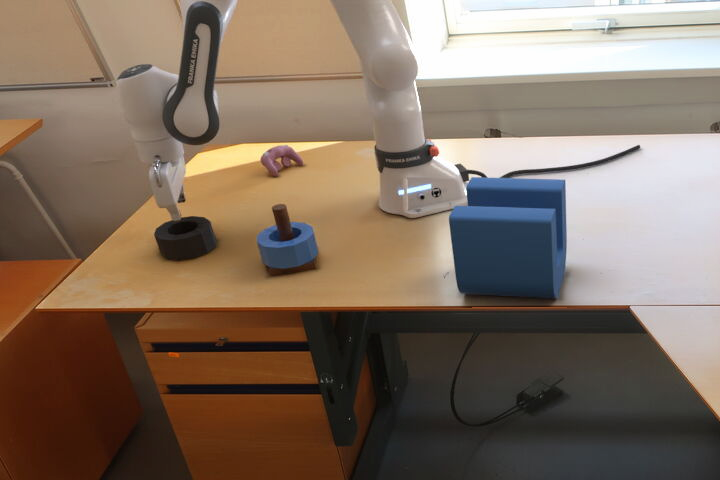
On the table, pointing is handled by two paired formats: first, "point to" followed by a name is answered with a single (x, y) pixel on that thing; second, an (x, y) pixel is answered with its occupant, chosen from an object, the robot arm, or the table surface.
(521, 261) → the block
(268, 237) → the blue tape
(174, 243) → the ring
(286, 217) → the wooden stand
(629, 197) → the table surface
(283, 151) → the video game controller
